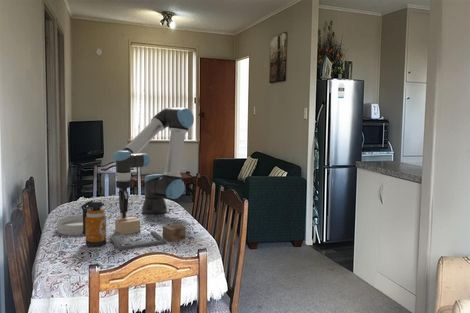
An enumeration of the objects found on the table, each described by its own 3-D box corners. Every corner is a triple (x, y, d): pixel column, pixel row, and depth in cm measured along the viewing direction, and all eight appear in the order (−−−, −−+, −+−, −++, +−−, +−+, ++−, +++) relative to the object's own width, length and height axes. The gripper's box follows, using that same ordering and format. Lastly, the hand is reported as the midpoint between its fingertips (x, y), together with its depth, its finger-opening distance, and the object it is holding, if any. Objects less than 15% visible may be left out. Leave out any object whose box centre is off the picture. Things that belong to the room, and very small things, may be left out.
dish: (75, 238, 194) (75, 228, 194) (47, 230, 206) (47, 220, 205) (111, 227, 213) (111, 218, 212) (84, 221, 224) (84, 212, 224)
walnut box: (176, 235, 202) (176, 223, 201) (185, 239, 196) (185, 227, 195) (162, 238, 197) (162, 226, 196) (171, 242, 191) (171, 230, 190)
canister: (99, 247, 180) (99, 204, 178) (77, 245, 183) (76, 202, 180) (109, 241, 189) (109, 199, 187) (88, 239, 191) (87, 198, 189)
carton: (133, 227, 213) (133, 216, 213) (140, 231, 207) (140, 219, 207) (115, 230, 207) (115, 219, 207) (121, 234, 201) (121, 222, 200)
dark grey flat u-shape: (154, 233, 204) (154, 230, 204) (166, 243, 188) (166, 241, 188) (109, 238, 193) (109, 236, 193) (118, 250, 178) (118, 247, 177)
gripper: (113, 178, 215) (113, 221, 218) (118, 182, 204) (119, 227, 206) (127, 177, 219) (127, 220, 221) (133, 181, 208) (133, 226, 210)
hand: (123, 224), depth 214 cm, fingers closed
